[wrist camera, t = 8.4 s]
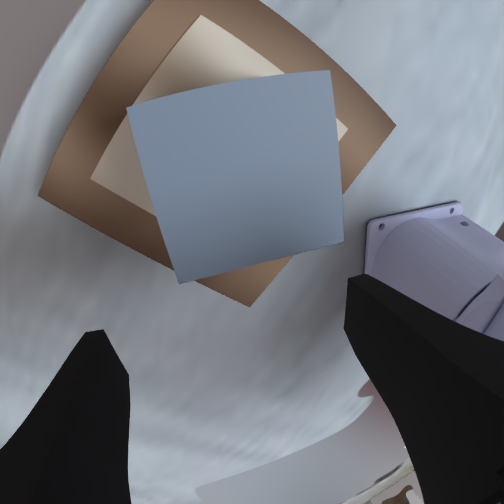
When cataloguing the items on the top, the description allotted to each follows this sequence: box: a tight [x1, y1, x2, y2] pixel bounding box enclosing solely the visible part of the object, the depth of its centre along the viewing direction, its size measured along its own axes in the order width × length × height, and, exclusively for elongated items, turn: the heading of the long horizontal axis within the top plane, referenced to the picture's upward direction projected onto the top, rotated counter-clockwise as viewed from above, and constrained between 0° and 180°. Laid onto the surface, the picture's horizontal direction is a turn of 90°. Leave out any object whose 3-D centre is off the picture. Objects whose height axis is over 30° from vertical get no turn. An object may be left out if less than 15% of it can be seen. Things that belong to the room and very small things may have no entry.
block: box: [126, 70, 344, 284], centre depth 10 cm, size 4×4×6 cm
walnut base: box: [38, 0, 396, 307], centre depth 14 cm, size 12×12×4 cm
